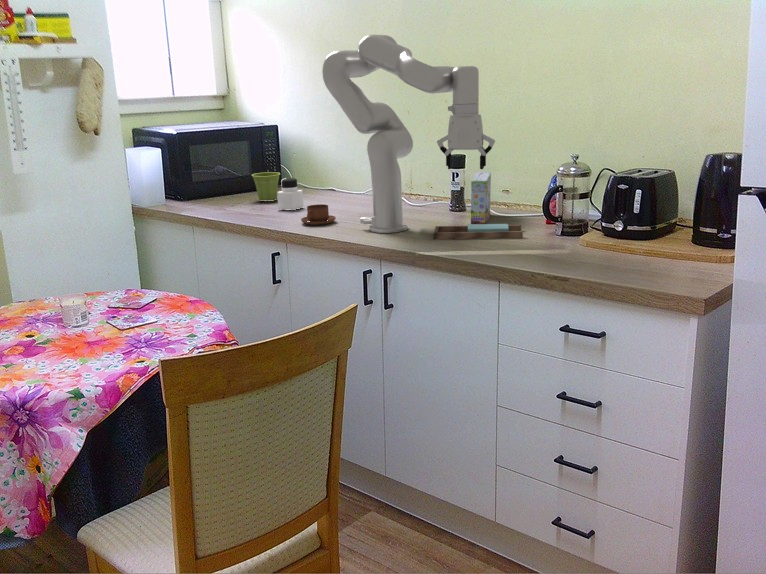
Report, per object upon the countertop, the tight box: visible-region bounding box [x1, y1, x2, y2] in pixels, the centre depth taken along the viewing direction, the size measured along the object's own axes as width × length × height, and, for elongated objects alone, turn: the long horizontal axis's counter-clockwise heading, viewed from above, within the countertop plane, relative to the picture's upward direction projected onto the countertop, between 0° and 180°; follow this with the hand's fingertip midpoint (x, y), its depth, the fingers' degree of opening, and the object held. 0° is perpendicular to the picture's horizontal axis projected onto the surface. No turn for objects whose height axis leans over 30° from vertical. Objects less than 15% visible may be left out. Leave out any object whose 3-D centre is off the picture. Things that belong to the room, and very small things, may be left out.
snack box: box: [470, 172, 492, 224], centre depth 249 cm, size 21×6×15 cm, turn 168°
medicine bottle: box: [277, 177, 305, 210], centre depth 287 cm, size 7×7×12 cm
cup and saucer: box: [300, 204, 337, 226], centre depth 258 cm, size 12×12×6 cm
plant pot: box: [251, 171, 281, 201], centre depth 309 cm, size 12×12×11 cm
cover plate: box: [467, 223, 509, 232], centre depth 224 cm, size 12×7×2 cm, turn 83°
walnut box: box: [433, 224, 524, 240], centre depth 225 cm, size 26×10×3 cm, turn 83°
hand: (465, 168), depth 223 cm, fingers open, 9 cm apart
